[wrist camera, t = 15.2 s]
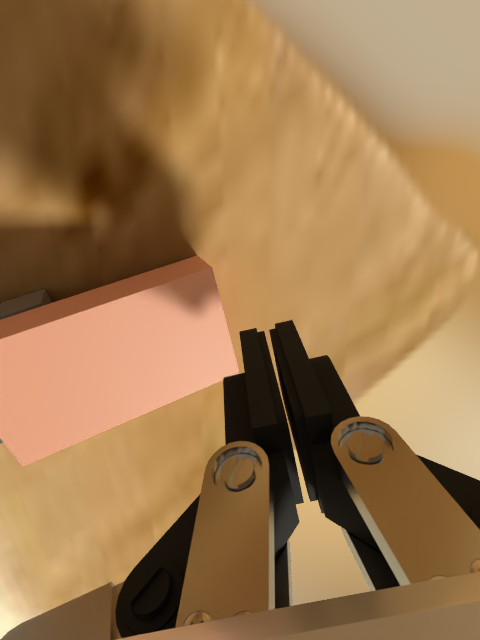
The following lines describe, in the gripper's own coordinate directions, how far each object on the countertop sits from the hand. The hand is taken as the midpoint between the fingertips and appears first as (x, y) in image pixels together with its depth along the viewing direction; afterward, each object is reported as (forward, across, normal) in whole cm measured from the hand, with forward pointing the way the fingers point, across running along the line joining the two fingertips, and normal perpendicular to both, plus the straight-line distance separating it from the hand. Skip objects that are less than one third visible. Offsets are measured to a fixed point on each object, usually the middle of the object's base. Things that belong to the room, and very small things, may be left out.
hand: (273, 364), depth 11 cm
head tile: (+4, +2, 0) cm, 5 cm away
